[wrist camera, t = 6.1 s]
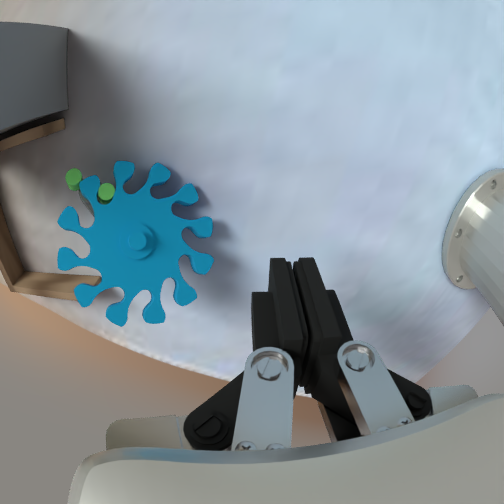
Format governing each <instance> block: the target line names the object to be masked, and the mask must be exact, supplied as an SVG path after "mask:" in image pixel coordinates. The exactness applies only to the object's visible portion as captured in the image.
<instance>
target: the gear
mask: <svg viewBox="0 0 504 504" xmlns="http://www.w3.org/2000/svg"><path fill="white" fill-rule="evenodd" d="M134 169H135V166H134V163H131V162H128V161H117V162H116V163H115V165H114V171H113V174H114V178H115V181H116V190H115V189H114V186H113V185H112V184H110V183H104V184H101V182H100V180H99V178H98V176H97V175H93V176H90V177H88V178H86V179H84V180H83V179H82V174H81V172H80V170H78V169H76V168H73V169H70V170H69V171H68V172H67V174H66V182H67V184H68V187H69V188H70V189H71V190H73V191H77V190H79V195H80V198H81V200H82V202H83V203H84V204H85V206H86V207H87V208H88V209H89V211H90V212H91V213H92V215H93V216H94V217H95V221H94V224H93V225H92V226H91V227H90V228H83V227H81V226H80V223H79V217H78V214H77V212H76V210H75V209H74V208H73V207H71V206H68V207H66V208H65V209H64V211H63V212H62V214H61V215H60V217H59V219H58V221H57V222H58V224H59V225H60V227H62V228H63V229H64V230H68V231H74V232H76V233H78V234H80V235H81V236H82V237H83V238H84V239H85V240H86V241H87V242H88V244H89V245H90V254H89V255H88V256H87V257H86V258H84V259H81V258H79V257H78V256H77V255H76V254H75V253H74V251H73V250H71V249H70V248H67V247H62V248H59V252H58V268H59V269H60V270H64V271H66V270H70V269H72V268H74V267H77V266H88V267H91V268H94V269H97V270H98V271H99V272H100V273H101V275H102V281H101V283H100V284H98V285H96V286H93V285H89V284H86V283H81V284H79V285H77V286H76V287H75V288H74V294H75V296H76V299H77V300H78V302H79V303H80V305H81V306H82V307H87V306H89V305H90V304H91V303H92V301H93V300H94V298H95V297H96V296H97V295H98V294H99V293H100V292H102V291H103V290H106V289H108V288H112V287H120V288H122V289H123V290H124V294H125V295H124V298H123V300H122V301H121V302H118V303H114V304H111V305H110V306H109V307H108V308H107V310H106V317H107V318H108V320H110V321H111V322H112V323H114V324H116V325H118V326H121V327H122V326H124V325H125V323H126V322H127V313H128V308H129V305H130V303H131V301H132V300H133V298H134V297H135V296H136V295H137V294H138V293H139V292H140V291H141V290H149V291H150V293H151V301H150V302H149V303H148V304H147V305H146V307H145V308H144V309H143V313H142V315H143V318H144V320H145V322H147V323H152V324H157V323H164V321H165V312H164V310H163V308H162V305H161V301H160V292H161V288H162V284H163V281H164V280H165V279H166V278H169V277H171V278H172V279H173V280H174V281H175V290H174V294H173V297H174V300H175V302H176V303H177V304H179V305H181V306H185V305H187V304H189V303H191V302H192V301H194V300H195V299H196V298H197V294H196V291H195V290H194V289H193V288H192V287H190V286H189V285H188V284H187V283H186V282H185V281H184V279H183V277H182V275H181V273H180V269H179V265H178V261H179V258H180V257H181V256H182V255H186V256H188V257H189V259H190V262H191V267H192V269H193V271H194V272H196V273H197V274H204V275H205V274H206V273H207V272H208V271H209V270H210V268H211V266H212V264H213V262H214V259H213V257H212V256H211V255H209V254H204V253H199V252H197V251H194V250H193V249H192V248H190V247H189V246H188V245H187V244H186V243H185V241H184V240H183V239H182V236H181V233H182V230H183V229H184V228H188V229H190V230H191V231H192V232H193V233H194V234H195V235H196V236H197V237H198V238H206V237H210V236H211V234H212V230H213V222H212V218H210V217H206V216H205V217H202V218H199V219H196V220H186V219H182V218H180V217H177V216H175V215H174V214H173V213H172V211H171V206H172V204H173V203H178V204H181V205H183V206H190V205H192V204H194V203H195V202H197V201H198V194H197V191H196V189H195V188H194V186H193V184H190V183H189V184H185V185H184V186H183V187H182V188H181V189H179V191H178V192H177V193H176V194H175V195H173V196H170V197H167V198H162V199H155V198H153V197H152V196H151V194H150V188H151V187H153V186H159V185H163V184H164V183H165V182H166V181H167V180H168V179H169V177H170V175H171V172H170V171H169V170H168V169H167V168H166V167H165V166H163V165H162V164H160V163H155V164H154V165H153V166H152V168H151V170H150V171H149V175H148V179H147V182H146V184H145V185H144V186H143V187H142V188H141V189H140V190H139V191H137V192H136V193H135V194H127V193H126V192H125V191H124V190H123V185H124V184H125V183H126V182H127V181H128V180H130V179H131V177H132V175H133V173H134Z"/></svg>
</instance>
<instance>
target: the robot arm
mask: <svg viewBox="0 0 504 504" xmlns="http://www.w3.org/2000/svg"><path fill="white" fill-rule="evenodd" d="M442 261H443V267H444V270H445V273H446V274H447V276H448V277H449V279H450V280H451V281H452V282H453V284H454V285H455V286H457V287H459V288H462V289H475V288H477V289H478V290H479V292H480V293H481V294H482V296H483V297H484V298H485V300H486V301H487V302H488V304H489V305H490V307H491V308H492V309H493V311H494V312H495V314H496V315H497V317H498V318H499V320H500V321H501V323H502V324H503V326H504V169H494V170H491V171H488V172H486V173H485V174H483V175H482V176H480V177H479V178H478V179H477V180H476V181H475V182H474V183H472V184H471V186H470V187H469V188H468V189H467V191H466V192H465V193H464V194H463V196H462V198H461V199H460V201H459V202H458V204H457V205H456V208H455V210H454V212H453V214H452V216H451V218H450V221H449V224H448V226H447V229H446V232H445V237H444V241H443V249H442ZM251 315H252V340H253V352H252V353H251V354H250V355H249V357H248V358H247V361H246V364H245V370H244V371H243V372H242V373H241V374H239V375H238V376H237V377H236V378H235V379H233V380H232V381H231V382H230V383H228V384H227V385H226V386H225V387H223V388H222V389H221V390H220V391H218V392H217V393H216V394H215V395H214V396H212V397H211V398H209V399H208V400H207V401H206V402H204V403H203V404H202V405H200V406H199V407H198V408H196V409H195V410H194V411H193V412H191V413H190V414H189V415H186V416H178V417H176V415H169V416H159V417H149V418H136V419H121V420H117V421H115V422H113V423H112V424H110V426H109V427H108V429H107V431H106V451H101V452H98V453H95V454H92V455H90V456H88V457H87V458H85V459H84V460H83V461H82V462H81V464H80V465H79V467H78V469H77V471H76V473H75V475H74V478H73V481H72V485H71V488H70V493H69V498H68V504H504V394H489V395H484V396H481V397H478V395H477V393H476V391H475V390H474V389H473V388H472V387H470V386H469V385H459V386H447V387H431V388H429V389H428V390H425V389H424V388H422V387H421V386H419V385H417V384H415V383H413V382H411V381H409V380H407V379H405V378H404V377H402V376H400V375H398V374H396V373H394V372H392V371H391V370H389V369H387V368H386V366H385V365H384V363H383V361H382V359H381V358H380V356H379V354H378V352H377V351H376V350H375V349H374V347H372V346H371V345H370V344H368V343H366V342H363V341H357V340H355V341H353V338H352V335H351V332H350V329H349V327H348V324H347V321H346V319H345V316H344V313H343V311H342V308H341V305H340V303H339V300H338V298H337V295H336V293H335V291H334V290H326V289H325V286H324V283H323V281H322V278H321V275H320V273H319V270H318V267H317V265H316V262H315V259H314V258H299V260H298V261H294V263H293V269H292V266H291V262H286V260H285V258H271V259H270V270H269V286H268V292H252V303H251ZM298 385H299V386H300V387H304V390H305V394H310V393H311V395H312V398H314V399H316V400H317V401H318V407H319V409H320V412H321V415H322V418H323V421H324V423H325V426H326V429H327V431H328V434H329V437H330V440H331V442H332V443H326V444H320V445H313V446H306V447H296V448H291V433H292V412H293V399H294V398H295V395H296V392H297V388H298Z"/></svg>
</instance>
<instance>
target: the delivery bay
mask: <svg viewBox="0 0 504 504" xmlns="http://www.w3.org/2000/svg"><path fill="white" fill-rule="evenodd" d="M63 129H65V123H64V118H63V119H60V120H57V121H53V122H50V123H47V124H44V125H41V126H38V127H35V128H32V129H29V130H27V131H24V132H21V133H19V134H16V135H14V136H11V137H9V138H6V139H4V140H2V141H0V152H1V151H3V150H6V149H9V148H11V147H14V146H17V145H20V144H23V143H25V142H28V141H31V140H35V139H38V138H41V137H44V136H47V135H49V134H52V133H55V132H57V131H60V130H63ZM0 270H1V272H2V275H3V277H4V279H5V281H6V283H7V285H8V287H9V289H10V291H12V292H18V293H24V294H30V295H37V296H44V297H52V298H59V299H67V300H76V301H78V300H77V299H76V296H75V294H74V288H75V287H76V286H77V285H79V284H81V283H86V284H89V285H93V286H96V285H98V284H100V283H101V278H100V276H86V275H69V274H54V273H40V272H28V271H25V270H24V268H23V266H22V263H21V261H20V259H19V256H18V254H17V251H16V249H15V246H14V243H13V241H12V238H11V235H10V233H9V230H8V227H7V224H6V221H5V218H4V214H3V211H2V208H1V204H0Z"/></svg>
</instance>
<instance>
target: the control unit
mask: <svg viewBox="0 0 504 504" xmlns="http://www.w3.org/2000/svg"><path fill="white" fill-rule="evenodd" d="M67 34H68V28H62V27H56V26H49V25H41V24H31V23H18V22H0V134H2V133H4V132H6V131H9V130H11V129H13V128H16V127H18V126H21V125H23V124H26V123H28V122H31V121H34V120H36V119H39V118H42V117H45V116H48V115H51V114H54V113H57V112H60V111H63V110H66V109H68V95H67Z"/></svg>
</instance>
